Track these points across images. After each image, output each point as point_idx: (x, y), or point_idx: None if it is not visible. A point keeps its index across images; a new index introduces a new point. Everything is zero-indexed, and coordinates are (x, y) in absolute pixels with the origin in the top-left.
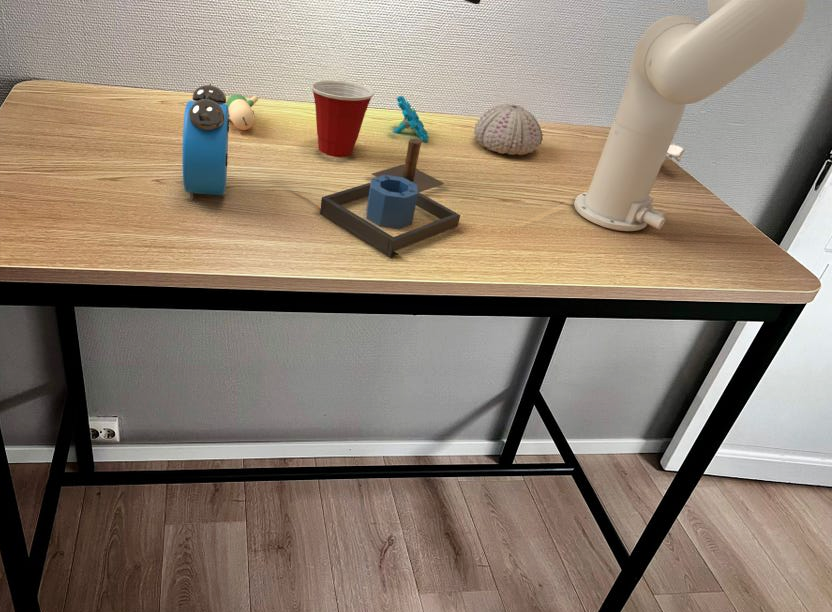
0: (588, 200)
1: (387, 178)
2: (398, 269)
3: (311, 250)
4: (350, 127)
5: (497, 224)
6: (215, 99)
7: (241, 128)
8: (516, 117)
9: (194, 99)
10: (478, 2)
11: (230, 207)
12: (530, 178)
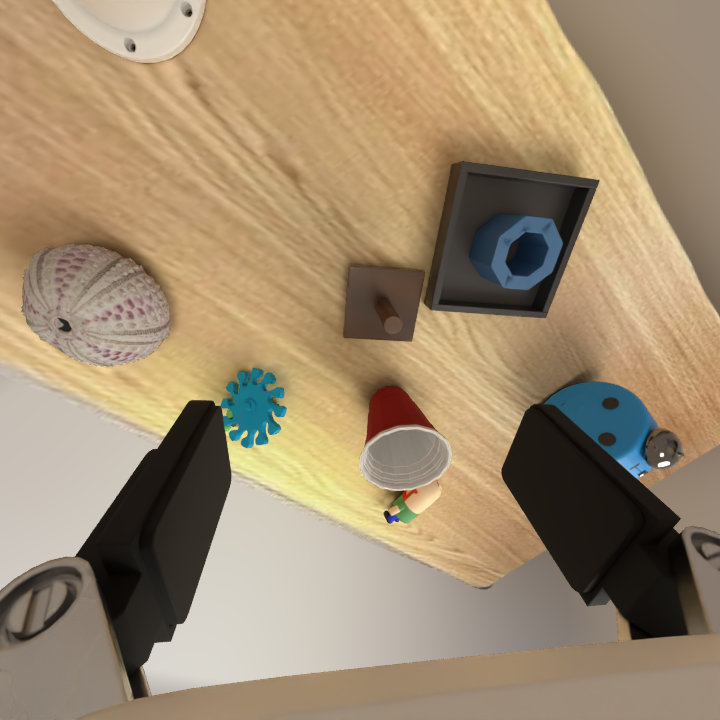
0: (167, 3)
1: (511, 277)
2: (600, 154)
3: (613, 258)
4: (410, 407)
5: (379, 129)
6: None
7: None
8: (92, 300)
9: None
10: (549, 405)
11: (576, 369)
12: (170, 194)
